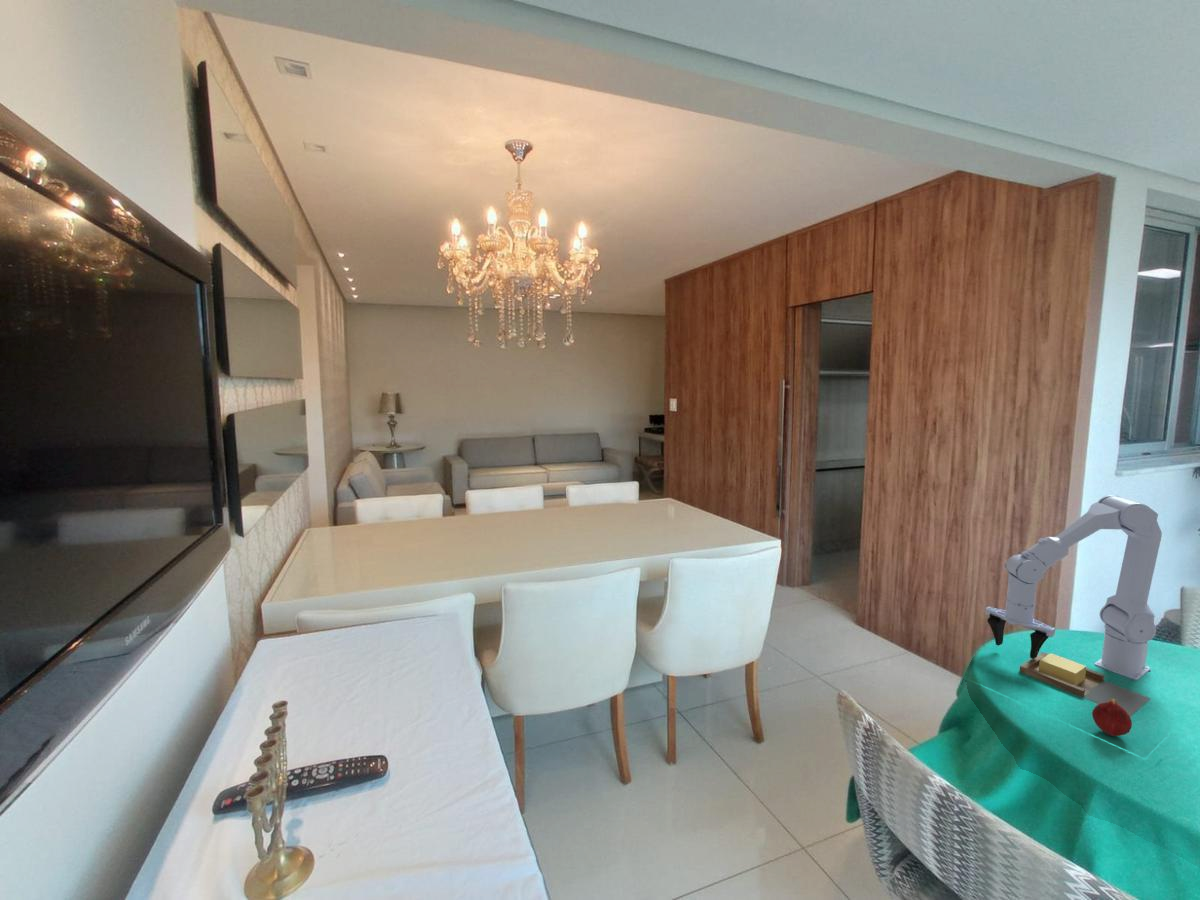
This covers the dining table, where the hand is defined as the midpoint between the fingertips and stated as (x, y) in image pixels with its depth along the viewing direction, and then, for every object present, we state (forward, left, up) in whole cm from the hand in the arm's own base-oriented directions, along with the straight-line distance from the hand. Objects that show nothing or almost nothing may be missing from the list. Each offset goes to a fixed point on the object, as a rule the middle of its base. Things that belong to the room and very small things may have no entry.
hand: (1015, 650), depth 136 cm
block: (0, +10, -2) cm, 10 cm away
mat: (0, +20, -2) cm, 20 cm away
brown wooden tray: (0, +10, -2) cm, 10 cm away
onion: (+17, +24, -3) cm, 29 cm away
